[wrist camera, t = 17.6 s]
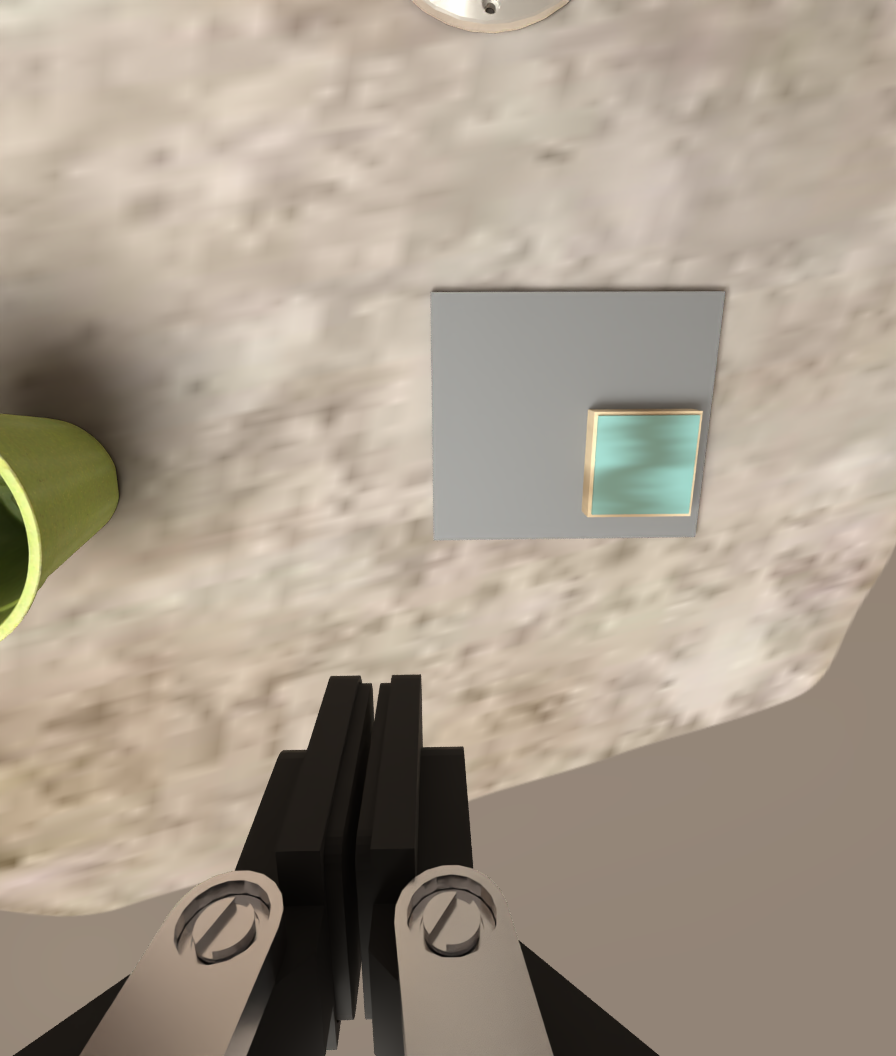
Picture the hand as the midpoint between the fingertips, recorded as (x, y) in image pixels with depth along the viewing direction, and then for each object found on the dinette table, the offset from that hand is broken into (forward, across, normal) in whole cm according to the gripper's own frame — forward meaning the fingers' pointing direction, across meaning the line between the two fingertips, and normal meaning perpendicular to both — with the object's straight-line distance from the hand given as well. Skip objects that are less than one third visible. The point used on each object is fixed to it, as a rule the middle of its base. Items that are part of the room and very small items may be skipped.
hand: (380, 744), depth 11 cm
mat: (+25, -9, -3) cm, 27 cm away
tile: (+24, -13, +2) cm, 27 cm away
